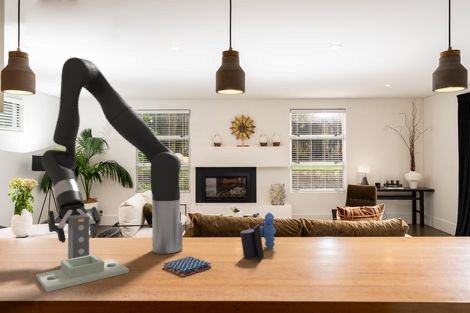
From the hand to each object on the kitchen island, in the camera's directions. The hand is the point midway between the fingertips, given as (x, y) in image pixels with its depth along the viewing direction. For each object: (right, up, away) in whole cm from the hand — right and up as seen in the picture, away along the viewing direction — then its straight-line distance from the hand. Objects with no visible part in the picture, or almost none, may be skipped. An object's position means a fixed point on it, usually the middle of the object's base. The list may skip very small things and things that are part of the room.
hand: (79, 238), depth 99 cm
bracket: (+6, -7, -9) cm, 13 cm away
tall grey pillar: (-1, -7, +1) cm, 8 cm away
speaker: (+52, -7, +5) cm, 52 cm away
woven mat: (+33, -8, -4) cm, 34 cm away
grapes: (+57, -7, +17) cm, 60 cm away
